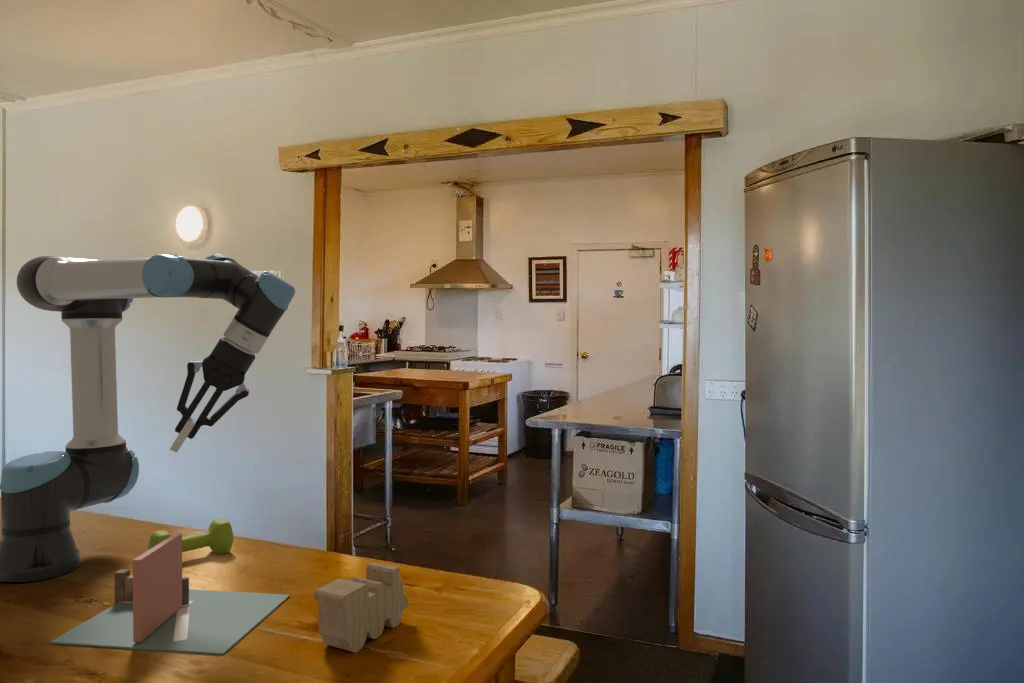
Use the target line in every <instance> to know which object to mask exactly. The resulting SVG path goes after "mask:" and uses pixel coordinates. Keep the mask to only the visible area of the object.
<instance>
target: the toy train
mask: <svg viewBox="0 0 1024 683" xmlns="http://www.w3.org/2000/svg"><path fill="white" fill-rule="evenodd" d="M365 570H366V571H365V572H366V573H365V578H363V577H357V576H354V577H352V578H351V580H349V579H346V578H345V579H344V578H337V579H335V580H332V581H331V582H329V583H327V584H325V585H323V586H321V587H319V588H316V589H315V591H313V592H314V593H313V598H314V600H315V601H316V602H318V634H319V635H320V636H321V639H322V643H323V644H324V645H327V646H329V647H332V648H337V649H341V650H344V651H346V652H352V653H357V652H356V651H357V650H359V649H361V650H362V648H363V647H364V646H365V642H366V641H367V638H368V639H372V640H376V639H378V638H379V637H380V636H381V635H382V634H383V631H384V628H385V626H386V627H389V628H395V627H396V626H397V627H398V626H399V625H400V623H401V620H402V614H403V613H402V612H403V611H404V610H406V609H407V608H408V607H409V600H408V598H407V597H406V595H405V594H404V579H402V578H401V573H400V571H401V568H400V566H395V565H391V564H386V563H380V562H377V561H372V562H370V563H368V564H367V565H366V568H365ZM397 627H396V628H397ZM359 651H360V650H359Z"/></svg>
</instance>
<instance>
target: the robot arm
mask: <svg viewBox="0 0 1024 683" xmlns="http://www.w3.org/2000/svg"><path fill="white" fill-rule="evenodd" d="M16 286H17V287H16V288H17V291H18V292H19V295H20V296H21V298H23V300H24V301H26V302H27V303H28V304H30V306H33V307H34V308H36V309H38V310H39V309H40V310H41V311H42V310H43V311H47V312H49V311H50V312H61V314H60V316H61V322H62V323H64V324H65V325H66V326H68V328H69V335H70V342H69V343H70V344H69V345H70V365H71V366H70V370H71V371H70V372H71V401H72V402H71V403H72V405H71V406H72V432H73V436H72V439H71V440H70V441H68V443H66V444H65V451H60V450H54V451H51V450H50V451H44V452H37V453H32V454H31V453H30V454H27V455H24V456H21V457H18V458H14V459H13V460H10V461H9V462H7V463H5V465H4V466H3V468H2V469H1V477H0V505H1V506H0V510H1V512H0V513H1V516H0V518H1V520H0V522H1V538H0V581H1V582H23V583H30V582H29V581H32V582H38V581H37V580H39V581H43V579H44V580H47V579H48V578H49V579H51V578H56V577H60V576H63V575H65V574H68V573H70V572H72V571H74V570H76V569H77V568H79V567H80V565H81V552H80V549H79V548H78V547H77V544H76V540H75V537H74V534H73V532H72V529H71V512H73V511H76V510H77V511H78V510H80V509H83V508H87V507H88V508H89V507H92V506H96V505H99V504H106V503H111V502H113V501H114V500H117V499H120V498H122V497H125V496H126V495H128V494H129V493H130V492H131V491H132V489H134V487H135V485H136V484H137V481H138V478H139V474H140V463H139V459H138V457H137V456H135V455H136V452H134V451H133V450H132V449H131V448H129V447H127V440H126V439H125V438H123V437H122V436H121V435H120V434H119V425H118V424H119V422H118V421H119V420H118V419H119V418H118V415H119V414H118V390H117V389H118V388H117V387H118V386H117V385H118V384H117V383H118V382H117V357H116V356H117V353H116V351H117V350H116V327H117V326H118V325H119V324H120V323H122V321H123V313H124V312H125V311H128V309H130V307H131V303H133V302H134V299H145V298H150V299H152V298H199V299H214V300H224V301H225V302H227V303H229V304H230V305H232V306H233V307H235V308H237V309H238V310H237V311H236V314H235V315H234V316H233V317H232V320H231V321H230V322H229V324H228V325H227V327H226V329H225V331H224V332H223V337H222V338H219V340H218V341H217V343H216V345H215V346H214V348H213V349H212V351H211V353H210V354H209V355H208V356H207V357H205V358H203V360H199V361H198V360H197V361H196V360H192V359H191V360H189V362H187V364H186V368H187V369H186V370H187V374H186V375H187V376H186V378H185V381H184V383H183V388H182V390H181V394H180V397H179V400H178V402H177V403H178V404H177V406H176V410H177V412H179V413H180V414H181V418H180V420H179V422H178V423H177V425H176V427H175V428H174V432H176V433H177V436H176V437H175V439H174V441H173V443H172V444H171V446H170V448H169V450H170V451H172V452H174V453H178V452H179V450H180V448H182V445H184V442H185V441H186V440H187V438H188V439H190V440H192V439H194V438H195V436H196V435H197V434H198V432H199V430H200V428H201V427H203V426H208V427H209V428H210V427H213V426H214V425H215V424H216V423H217V422H219V420H221V418H223V416H224V415H225V414H226V413H228V411H230V409H231V408H233V406H235V405H236V404H237V402H238V401H241V400H243V399H244V398H247V397H248V396H249V394H250V389H248V388H247V387H246V385H245V383H244V382H245V379H246V378H245V376H246V373H247V372H248V371H249V369H250V368H251V366H252V364H253V362H254V361H255V360H256V354H259V353H260V352H261V350H262V348H263V347H264V345H265V343H266V342H267V341H268V339H269V337H270V335H271V334H272V332H273V330H274V328H275V327H276V325H277V324H278V322H279V321H280V320H281V318H282V316H283V315H284V313H285V312H286V311H287V310H288V309H289V305H290V303H291V301H292V300H293V298H294V297H295V295H296V288H295V286H293V285H291V284H290V283H288V282H287V281H285V280H283V279H282V278H280V277H279V276H277V275H275V274H274V273H272V272H270V271H266V270H264V271H263V272H262V273H261V274H260V275H259V276H258V275H256V274H255V273H254V272H252V271H251V270H249V269H247V268H246V267H244V266H243V265H241V264H240V263H239V262H238V261H236V260H235V259H233V258H231V257H228V256H226V255H224V254H222V253H214V254H212V255H208V256H206V257H205V258H197V257H191V256H190V257H188V256H182V255H177V254H171V253H167V254H166V253H165V254H159V253H158V254H153V255H152V256H151V257H137V258H120V259H119V258H117V259H91V258H90V259H89V258H79V257H78V258H77V257H68V256H67V257H66V256H58V255H57V256H56V255H44V256H37V257H34V258H31V259H30V260H29V261H26V262H25V263H24V264H23V265H22V266H21V267H20V269H19V270H18V273H17V276H16ZM201 368H202V374H203V376H202V377H203V380H204V382H203V383H202V386H201V387H200V388H199V390H198V391H197V393H196V395H195V396H194V398H193V399H192V400H191V403H190V404H189V406H188V407H187V406H186V404H187V402H188V399H189V395H190V392H191V389H192V386H193V382H194V380H195V377H196V373H199V371H200V370H201ZM210 387H214V388H215V390H214V392H213V394H212V395H211V397H210V399H209V400H208V402H207V403H206V405H205V406H204V408H203V410H202V411H201V413H200V414H199V416H198V418H197V419H194V418H192V415H193V413H194V412H195V410H196V409H197V407H198V406H199V404H200V403H201V401H202V399H203V398H204V396H205V395H206V393H208V390H209V389H210ZM235 387H237V388H236V390H235V393H234V394H233V395H232V396H230V397H229V399H228V400H226V401H225V402H224V403H223V404H222V406H220V408H218V410H216V411H215V412H214V413H212V415H211V416H210V417H208V416H209V415H210V413H211V411H212V409H213V408H214V407H215V405H216V403H217V402H218V400H219V398H220V397H221V395H222V394H223V392H225V391H228V390H231V389H233V388H235ZM1 582H0V583H1Z"/></svg>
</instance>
